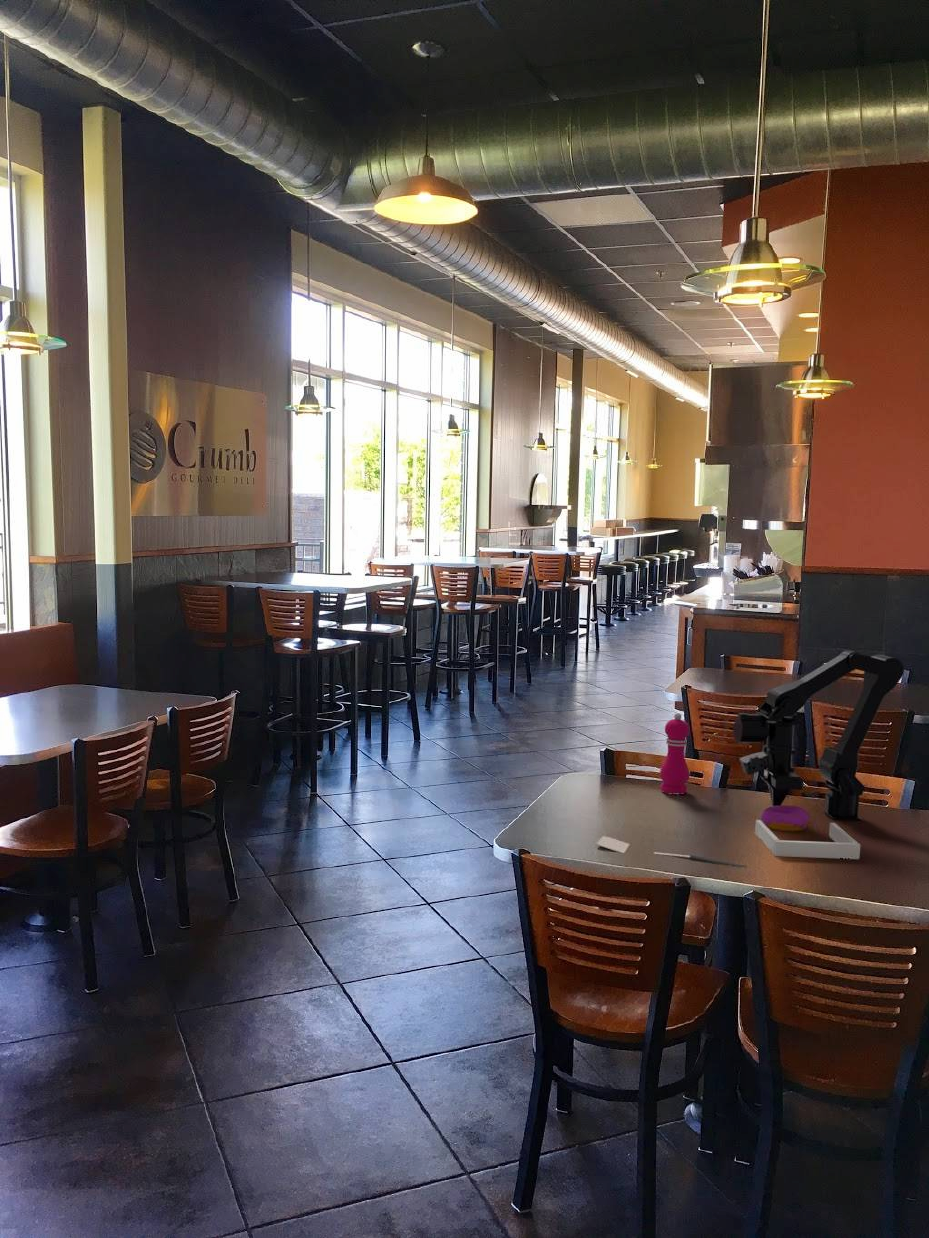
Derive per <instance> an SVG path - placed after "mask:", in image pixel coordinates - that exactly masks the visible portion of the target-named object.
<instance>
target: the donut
mask: <svg viewBox="0 0 929 1238" xmlns="http://www.w3.org/2000/svg"><path fill="white" fill-rule="evenodd" d="M760 818H761V819H760V820H761V821H762V822H763V823H764V824H765V825H766V826H767V828H768V829H769V830H773V831H774V830H775V831H779V832H780V831H781V832H800V831H802V830H805V829H806V828H807V826H808V822H809V820H811V818H810V815H809V813H808V812H807V810H805V809H804V808H803V807H800V806H796V805H782V804H781V805H778V806H772V805H771V806H769V807H767V808H765V809H764V810H763V811H762V813H761V816H760Z"/></svg>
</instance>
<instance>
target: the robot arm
mask: <svg viewBox="0 0 929 1238" xmlns="http://www.w3.org/2000/svg"><path fill="white" fill-rule="evenodd" d="M855 670H858V671H861V672H863V677H862V678H863V679H862V680H863V687H862V688H863V689H862V691H861V693H860V695H859V697H858V699H857V701H856V704H855V706H854V707H853V710H852V713H851V714H850V716H849V719H848V721H847V723H846V726H845V727H844V730H843V732H842V733H841V736H840V738H839V740H838V742H837V743H836V744H835V745H834V746H833V747H832V748H830V747H827V746H825V747H824V749H823V753H822V756H821V757H820V759H818V760H817V763H819V766H818V771H819V774H820V776H821V777H822V779H824V782H825V785H826V786H827V787H828V788H827V794H825V795H824V809H823V812H824V814H826V815H827V816H829V817H830V818H831V819H833V820H845V821H846V820H848V821H861V820H862V818H861V817H860V816H859V807H860V805H859V804H860V796H862V795H863V793H864V791H865V788H866V786H865V785H864V784H863V783H862V782H861V781H860V780H859V779H858V778H857V776H856V775H857V771H858V768H859V752H860V749H861V747H862V745H863V743H864V740H865V739H866V736H867V735H868V732H869V730H870V728H871V725H872V724H873V722H874V720H875V717H876V715H877V713H878V710H879V709H880V706H881V705H882V703H883V700H884V698H885V697H886V696H887V695H888V694H889V693H890V692H892V691H893V690H894V689H895V688H896V686H897V685H898V684H899V682H900V680H901V679H902V678H903V676H904V673H905V668H904V665H903V662H902V661H901V660H900V659H898V658H896V657H892V656H888V655H885V654H875V655H872V656H870V655H867V654H866V655H865V654H862V653H861V654H860V653H859V652H856V651H852V650H850V649H848V650H847V649H846V650H843V651H842V652H841V653H840V654H839V655H838V656H835V657H833V658H832V659H830V660H829V661H828V662H826V663H824V664H823V665H821V666H820V667H818V668H816V669H814V670H813V671H811V672H810V673H808V674H806V675H804V676H803V677H801V678H800V679H798V680H794V681H792V682H787V683H784V684H780V685H779V686H776V687H773V688H772V689H770V690H769V691H768V692H767V693H766V697H765V700H764V702H763V703H762V704H761V705H760V707H758V709H757V710H756V711H755V713H745V712H738V713H737V718H736V719H735V720H734V721H735V722H734V724H733V725H732V726H733V728H732V735H733V738H734V741H735V743H738V744H740V743H741V744H742V743H743V744H762V743H764V742H765V741H766V744H763V746H762V750H761V751H760V752H755V753H751V754H749V755H748V754H747V755H745V756H742V757H740V758H739V761H740V765H741V768H742V772H743V773H745V774H746V775H747V776H752V775H754V774H756V773H759V772H761V771H763V775H760V778H761V779H762V780H763V781H764V782H765V784H767V786H768V787H767V788H768V792H769V796H770V801H771V807H772V806H778V805H782V804H783V803H784V801H785V799H786V798H787V796H788V794H789V793H790V791H791V790H798V791H799V790H804V779H802V778H801V777H800V776H799V774H797V773H796V772H794V771H795V768H794V767H793V766H792V762H793V760H792V759H793V756H794V755H796V749H794V748H793V746H794V729H795V726H803V725H804V722H803V721H802V720H801V719H800V718H799V716H798V715H797V714H796V713H798V712H799V711H800V710H801V709H802V708H803V707H804V706H805V705H806V703H808V701H809V699H810V698H811V697H813V696H814V695H816V694H817V693H819V692H820V691H822V690H824V689H825V688H827V687H829V686H830V685H832V684H833V683H835V682H837V681H838V680H840V679H842V678H843V677H845V676H846V675H848V674H849V673H852V672H853V671H855Z"/></svg>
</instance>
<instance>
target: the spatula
mask: <svg viewBox="0 0 929 1238" xmlns="http://www.w3.org/2000/svg"><path fill="white" fill-rule="evenodd" d="M596 845H597V846H600V847H602V848H605V849H609V850H610V851H614V852H618V853H621V854H624V853H626V851H627V849H628V848H629V846H630V843H627V842H624V841H622V840H618V839H615V838H613V837H609V836H605V835H603V836H602V837H601V838H600V839H599V840H598V841H597V842H596ZM653 854H656V855H661V856H668V857H669V856H670V857H681V858H689V859H691V860H695V861H699V862H704V861H705V862H704V863H709V862H711V863H710V864H715V863H717V864H716V865H721V864H724V865H723V866H727V865H732V866H731V867H734V866H739V867H738V868H740V867H746V868H747V865H742V864H738V863H733V862H728V861H723V860H718V859H713V858H709V857H704V856H698V855H694V854H690V855H686V854H685V855H683V854H678V853H666V852H658V851H657V852H656V851H654V852H653ZM718 863H719V864H718Z"/></svg>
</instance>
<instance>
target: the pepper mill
mask: <svg viewBox="0 0 929 1238" xmlns="http://www.w3.org/2000/svg"><path fill="white" fill-rule="evenodd" d="M673 717H674V718H673V719H670V720H669V721H667V722H666V724H665V727H664V733H665V735H666V736H667V737H666V738H665V740H666V745H667V753H666V757H665V759H664V761H663V764H662V765H661V767H660V771H659V777H660V778H661V780H662V781H663V782H662V783H661V784H660V785H661V787H660V790H662V791H664V792H666V793H672V794H673V793H679V794H681V793H685V792H686V791H687V790H688V787H687V785H686V783H687V782H688V781H689V780H690V771H689V767H688V765H687V762H686V758H685V748H686V746H687V741H688V740H687V737H688V736H689V734H690V726H689V724H688V722H687V721H685V720H683V719H682V714H681V713H679V712H678V713H675V714H674V715H673ZM662 791H661V792H662ZM666 793H665V794H666Z"/></svg>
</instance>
